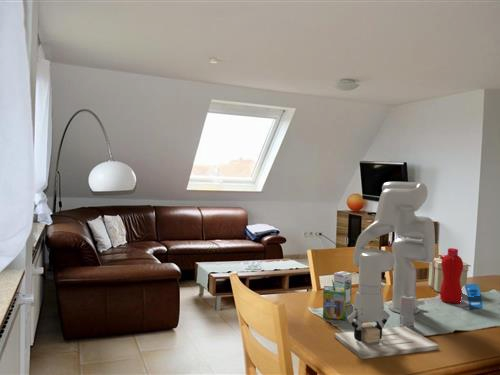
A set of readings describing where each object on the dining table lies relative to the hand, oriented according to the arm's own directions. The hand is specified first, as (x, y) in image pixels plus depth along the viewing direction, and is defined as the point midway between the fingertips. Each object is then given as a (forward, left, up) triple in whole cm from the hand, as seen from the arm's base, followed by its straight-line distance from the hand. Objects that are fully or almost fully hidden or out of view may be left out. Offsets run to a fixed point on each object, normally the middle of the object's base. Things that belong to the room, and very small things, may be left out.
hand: (368, 338), depth 149 cm
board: (-7, 0, -2) cm, 7 cm away
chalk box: (-3, -30, -3) cm, 30 cm away
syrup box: (-14, -43, -3) cm, 45 cm away
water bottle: (-67, -35, -3) cm, 76 cm away
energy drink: (-25, -12, -3) cm, 28 cm away
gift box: (-82, -53, -3) cm, 98 cm away
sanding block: (0, 0, -1) cm, 1 cm away
